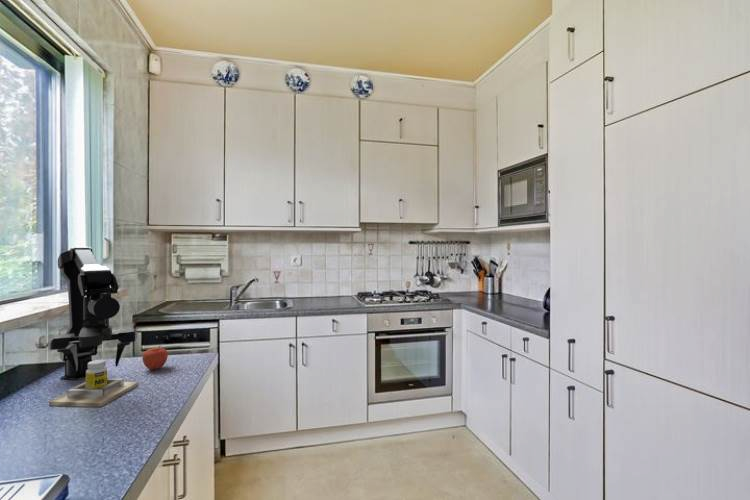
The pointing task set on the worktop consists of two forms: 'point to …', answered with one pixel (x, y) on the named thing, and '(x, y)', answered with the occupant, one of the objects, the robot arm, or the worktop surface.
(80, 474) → the worktop surface
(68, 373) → the robot arm
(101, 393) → the carrier plate
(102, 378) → the supplement bottle
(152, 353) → the apple
